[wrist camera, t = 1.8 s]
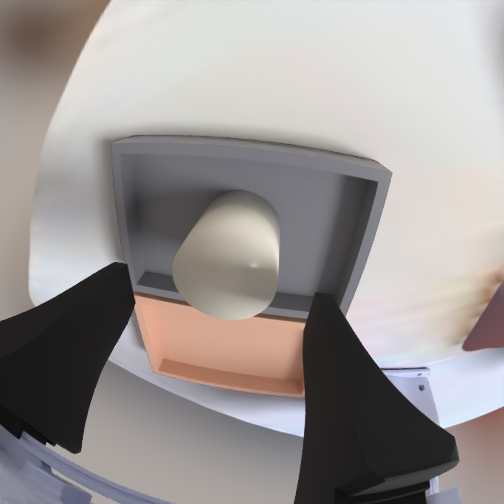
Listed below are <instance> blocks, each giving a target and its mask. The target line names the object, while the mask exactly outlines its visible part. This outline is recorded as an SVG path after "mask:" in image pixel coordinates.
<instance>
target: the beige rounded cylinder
mask: <svg viewBox="0 0 504 504" xmlns="http://www.w3.org/2000/svg"><path fill="white" fill-rule="evenodd" d="M280 232H281V226H280V220H279V216H278V214H277V212H276V210H275V209H274V207H273V206H272V205H271V204H270V203H269V202H268V201H267V200H266V199H265V198H263V197H262V196H260V195H258V194H256V193H253V192H250V191H244V190H235V191H229V192H226V193H223V194H221V195H219V196H218V197H216V198H215V199H214V200H213V201H212V202H211V203H210V204H209V206H208V207H207V208H206V210H205V211H204V213H203V214H202V216H201V217H200V219H199V220H198V221H197V223H196V224H195V226H194V227H193V229H192V230H191V232H190V233H189V235H188V236H187V238H186V239H185V241H184V242H183V244H182V245H181V247H180V248H179V250H178V251H177V253H176V255H175V257H174V260H173V265H172V275H173V280H174V283H175V286H176V288H177V290H178V291H179V293H180V295H181V296H182V297H183V298H184V299H185V300H186V301H187V302H188V303H189V304H190V305H191V306H192V307H194V308H195V309H197V310H198V311H200V312H202V313H204V314H206V315H208V316H211V317H214V318H218V319H224V320H241V319H246V318H249V317H252V316H255V315H257V314H259V313H260V312H262V311H263V310H265V309H266V308H267V307H268V306H269V305H270V303H271V302H272V300H273V299H274V297H275V294H276V291H277V283H278V267H279V250H280Z"/></svg>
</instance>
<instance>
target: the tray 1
mask: <svg viewBox="0 0 504 504" xmlns="http://www.w3.org/2000/svg"><path fill="white" fill-rule="evenodd" d="M111 155H112V171H113V183H114V194H115V203H116V211H117V219H118V226H119V233H120V240H121V246H122V252H123V257H124V263H125V264H128V268H129V274H130V278H131V283H132V288H133V291H137V292H142V293H147V294H152V295H156V296H161V297H167V298H172V299H177V300H182V301H186V300H185V299H184V298H183V297H182V296H181V295H180V293H179V291H178V290H177V288H176V286H175V283H174V280H173V275H172V265H173V260H174V257H175V255H176V253H177V251H178V250H179V248H180V247H181V245H182V244H183V242H184V241H185V239H186V238H187V236H188V235H189V233H190V232H191V230H192V229H193V227H194V226H195V224H196V223H197V221H198V220H199V219H200V217H201V216H202V214H203V213H204V211H205V210H206V208H207V207H208V206H209V204H210V203H211V202H212V201H213V200H214V199H215V198H216V197H218V196H219V195H221V194H223V193H226V192H229V191H235V190H244V191H250V192H253V193H256V194H258V195H260V196H262V197H263V198H265V199H266V200H267V201H268V202H269V203H270V204H271V205H272V206H273V207H274V209H275V210H276V212H277V214H278V216H279V220H280V226H281V232H280V250H279V267H278V283H277V291H276V294H275V297H274V299H273V300H272V302H271V303H270V305H269V306H268V307H267V308H266V309H265V310H263V311H262V312H260V313H263V314H271V315H278V316H286V317H294V318H303V319H307V318H308V315H309V311H310V308H311V305H312V301H313V298H314V295H315V292H318V293H326V294H332V296H333V297H334V299H335V301H336V302H337V304H338V306H339V307H340V309H341V311H342V313H343V314H344V316H345V317H346V314H347V312H348V309H349V307H350V304H351V302H352V299H353V297H354V294H355V292H356V289H357V286H358V284H359V281H360V278H361V276H362V273H363V270H364V267H365V265H366V262H367V259H368V256H369V253H370V250H371V247H372V244H373V241H374V238H375V234H376V231H377V228H378V225H379V221H380V218H381V215H382V211H383V208H384V204H385V200H386V197H387V193H388V189H389V185H390V181H391V177H392V172H391V171H390V170H388V169H387V168H386V167H384V166H383V165H382V164H380V163H379V162H377V161H374V160H370V159H366V158H361V157H357V156H352V155H347V154H343V153H337V152H332V151H327V150H321V149H316V148H310V147H303V146H297V145H290V144H283V143H275V142H267V141H258V140H248V139H237V138H225V137H209V136H184V135H137V136H131V137H128V138H125V139H122V140H119V141H116V142H113V143H111Z"/></svg>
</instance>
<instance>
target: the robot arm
mask: <svg viewBox="0 0 504 504" xmlns="http://www.w3.org/2000/svg"><path fill="white" fill-rule="evenodd" d="M135 304H136V301H135V297H134V293H133V288H132V283H131V278H130V274H129V268H128V264H125V263H119V262H114V263H112V264H110V265H108V266H106V267H104V268H102V269H101V270H99V271H97V272H96V273H94V274H92V275H91V276H89V277H87V278H86V279H84V280H83V281H81V282H79V283H78V284H76V285H74V286H73V287H71V288H69V289H68V290H66V291H64V292H62V293H61V294H59V295H57V296H56V297H54V298H52V299H50V300H48V301H47V302H45V303H43V304H41V305H39V306H37V307H35V308H32V309H30V310H28V311H26V312H23V313H21V314H18V315H16V316H13V317H11V318H8V319H5V320H2V321H0V504H93V503H91V502H90V501H91V498H92V496H91V494H89V493H88V492H86V491H84V490H83V489H81V488H80V487H78V486H76V485H74V484H72V483H70V482H68V481H66V480H64V479H62V478H60V477H59V476H57V475H55V474H53V473H52V471H51V467H52V468H53V469H55V470H57V471H58V472H60V473H61V474H63V475H65V476H67V477H68V478H70V479H72V480H74V481H76V482H77V483H79V484H81V485H83V486H85V487H87V488H89V489H91V490H93V491H95V492H97V493H99V494H101V495H103V496H105V497H107V498H110V499H112V500H114V501H117V502H119V503H121V504H175V503H171V502H168V501H164V500H161V499H158V498H155V497H151V496H148V495H145V494H143V493H139V492H137V491H134V490H131V489H129V488H126V487H124V486H121V485H119V484H116V483H114V482H112V481H109V480H107V479H105V478H103V477H100V476H98V475H96V474H94V473H92V472H90V471H88V470H86V469H84V468H82V467H80V466H78V465H77V464H75V463H73V462H71V461H69V460H67V459H66V458H64V457H62V456H61V455H59V454H57V453H56V452H54V451H52V450H51V449H49V448H48V447H46V446H45V445H46V442H48V443H49V444H51V445H52V446H55V445H56V444H57V445H59V446H61V447H63V448H64V449H66V450H68V451H70V452H71V453H73V454H77V453H79V452H81V448H82V440H83V434H84V427H85V423H86V418H87V414H88V410H89V406H90V403H91V400H92V396H93V393H94V390H95V387H96V384H97V382H98V379H99V376H100V374H101V372H102V369H103V367H104V365H105V363H106V361H107V360H108V358H109V356H110V354H111V352H112V350H113V349H114V347H115V345H116V343H117V342H118V340H119V338H120V336H121V334H122V333H123V331H124V329H125V327H126V325H127V324H128V321H129V319H130V316H131V314H132V312H133V309H134V306H135ZM302 357H303V373H304V388H305V429H304V441H303V451H302V459H301V466H300V473H299V480H298V485H297V490H296V496H295V500H294V504H461V495H460V486H459V485H456V486H453V487H451V488H449V489H446V490H443V491H440V492H439V483H438V476H439V475H441V474H443V473H445V472H447V471H448V470H450V469H452V468H454V467H455V466H456V465H457V464H458V462H459V456H458V451H457V446H456V441H455V438H454V436H452V435H451V434H450V433H448V432H447V431H445V430H444V429H443V428H441V427H440V425H439V417H438V413H437V409H436V406H435V402H434V398H433V395H432V391H431V388H430V385H429V381H428V378H427V377H428V376H429V374H430V373H431V371H430V369H413V370H381V369H380V368H379V367H378V366H377V364H376V363H375V362H374V360H373V359H372V358H371V356H370V355H369V353H368V352H367V351H366V349H365V348H364V346H363V345H362V343H361V342H360V340H359V339H358V337H357V335H356V334H355V332H354V331H353V329H352V328H351V326H350V324H349V323H348V321H347V319H346V318H345V316H344V314H343V313H342V311H341V309H340V307H339V306H338V304H337V302H336V301H335V299H334V297H333V296H332V294H326V293H318V292H315V295H314V298H313V301H312V305H311V308H310V311H309V315H308V318H307V321H306V324H305V327H304V330H303V350H302Z"/></svg>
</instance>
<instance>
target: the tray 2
mask: <svg viewBox="0 0 504 504" xmlns="http://www.w3.org/2000/svg"><path fill="white" fill-rule="evenodd" d="M133 293H134V297H135V301H136V304H135V306H134V308H135V312H136V316H137V320H138V324H139V328H140V331H141V335H142V338H143V342H144V345H145V348H146V352H147V355H148V358H149V361H150V364H151V367H152V370H153V373H157V374H160V375H164V376H168V377H172V378H176V379H181V380H185V381H189V382H194V383H199V384H204V385H209V386H214V387H219V388H225V389H231V390H237V391H244V392H251V393H259V394H267V395H276V396H286V397H299V398H305V388H304V373H303V357H302V350H303V330H304V327H305V324H306V321H307V319H303V318H294V317H286V316H278V315H271V314H263V313H259V314H257V315H255V316H252V317H249V318H246V319H241V320H224V319H218V318H214V317H211V316H208V315H206V314H204V313H202V312H200V311H198V310H197V309H195V308H194V307H192V306H191V305H190V304H189V303H188V302H187V301H182V300H177V299H172V298H167V297H161V296H156V295H152V294H147V293H142V292H137V291H133Z"/></svg>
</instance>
